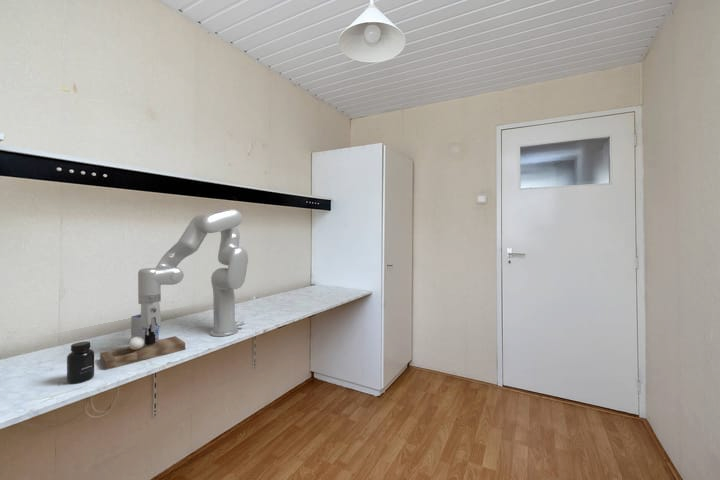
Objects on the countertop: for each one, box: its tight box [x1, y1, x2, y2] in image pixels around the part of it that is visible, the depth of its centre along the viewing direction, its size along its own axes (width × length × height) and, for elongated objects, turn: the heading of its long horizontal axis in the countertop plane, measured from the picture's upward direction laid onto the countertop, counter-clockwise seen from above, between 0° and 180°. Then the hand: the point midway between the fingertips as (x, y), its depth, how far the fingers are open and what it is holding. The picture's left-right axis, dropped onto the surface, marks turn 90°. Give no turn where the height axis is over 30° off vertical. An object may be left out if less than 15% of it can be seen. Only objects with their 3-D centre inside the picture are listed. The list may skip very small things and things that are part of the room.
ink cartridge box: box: [130, 313, 160, 341], centre depth 138 cm, size 10×6×14 cm, turn 78°
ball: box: [128, 336, 145, 350], centre depth 123 cm, size 5×5×5 cm
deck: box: [99, 335, 186, 371], centre depth 125 cm, size 26×12×3 cm, turn 138°
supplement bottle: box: [66, 341, 95, 385], centre depth 104 cm, size 7×7×12 cm
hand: (150, 343), depth 126 cm, fingers closed
